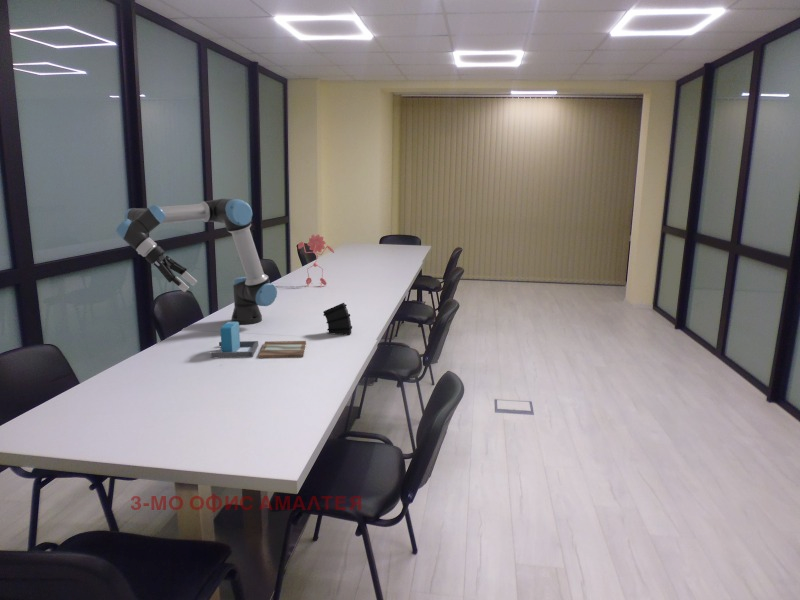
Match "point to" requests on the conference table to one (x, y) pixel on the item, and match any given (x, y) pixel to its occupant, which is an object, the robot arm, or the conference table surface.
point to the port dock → (282, 349)
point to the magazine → (338, 319)
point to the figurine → (315, 245)
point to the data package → (230, 337)
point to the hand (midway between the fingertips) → (191, 286)
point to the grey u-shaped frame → (238, 354)
